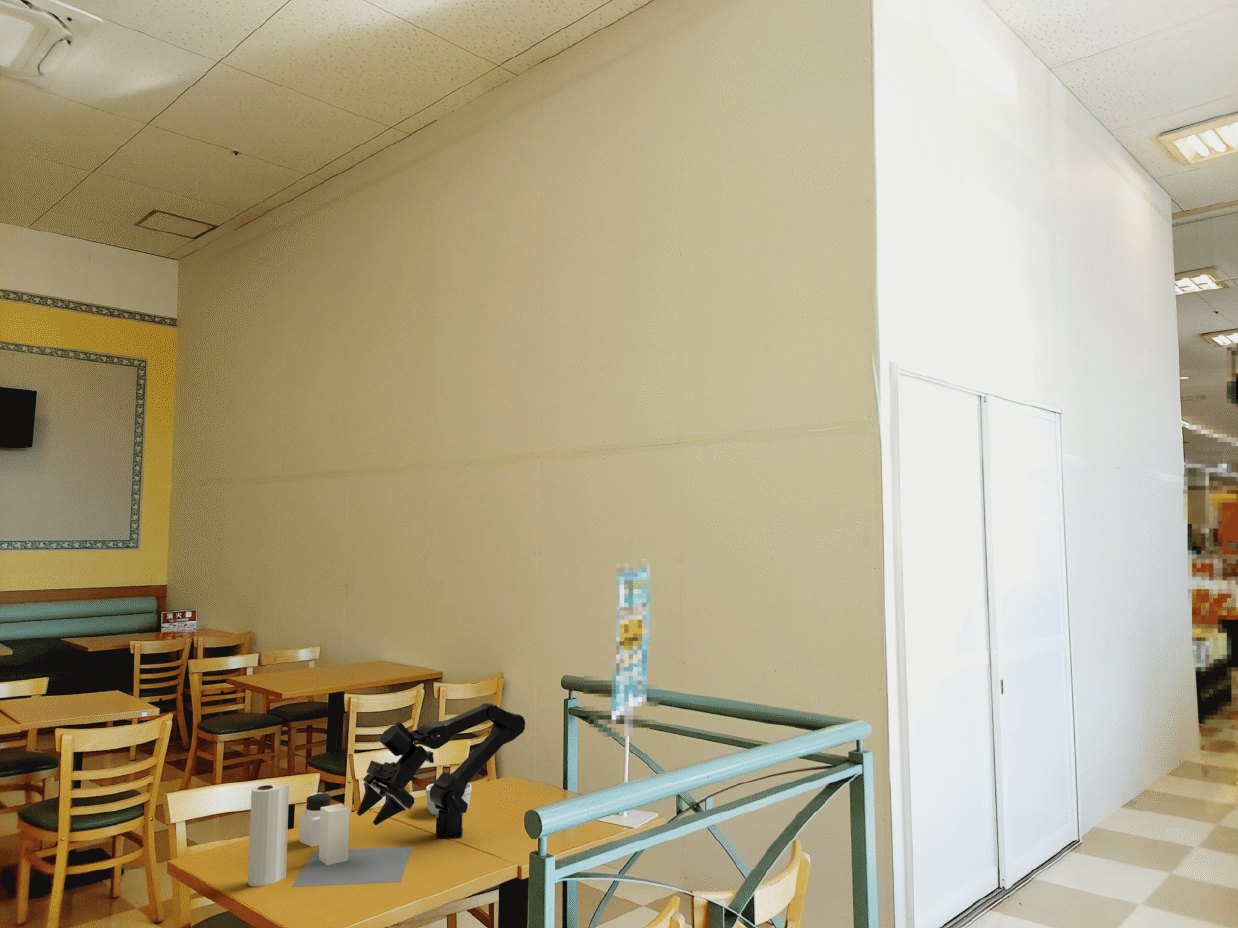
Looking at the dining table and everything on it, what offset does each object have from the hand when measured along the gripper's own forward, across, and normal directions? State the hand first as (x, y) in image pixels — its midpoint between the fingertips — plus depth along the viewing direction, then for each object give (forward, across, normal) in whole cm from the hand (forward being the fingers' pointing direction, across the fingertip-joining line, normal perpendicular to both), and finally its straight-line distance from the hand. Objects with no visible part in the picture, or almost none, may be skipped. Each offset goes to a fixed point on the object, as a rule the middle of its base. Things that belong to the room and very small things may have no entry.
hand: (366, 819), depth 223 cm
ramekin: (-18, -19, +31) cm, 40 cm away
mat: (+10, +7, +2) cm, 12 cm away
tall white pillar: (+12, 0, 0) cm, 12 cm away
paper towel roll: (+24, +3, -13) cm, 28 cm away
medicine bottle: (+10, -17, +2) cm, 20 cm away
